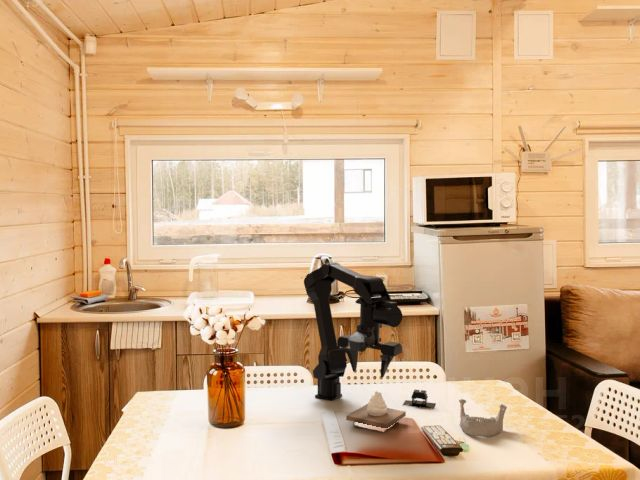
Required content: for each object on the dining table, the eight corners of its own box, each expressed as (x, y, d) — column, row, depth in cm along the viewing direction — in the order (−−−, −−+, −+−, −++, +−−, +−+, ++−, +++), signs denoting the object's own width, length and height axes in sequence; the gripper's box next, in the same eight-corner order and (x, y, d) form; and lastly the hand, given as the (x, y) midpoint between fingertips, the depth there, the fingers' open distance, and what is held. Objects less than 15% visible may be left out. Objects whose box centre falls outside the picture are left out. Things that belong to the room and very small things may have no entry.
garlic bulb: (391, 391, 168) (378, 395, 164) (390, 413, 169) (377, 418, 165) (376, 387, 172) (362, 391, 168) (375, 408, 172) (362, 413, 169)
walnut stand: (346, 426, 167) (346, 415, 167) (367, 414, 177) (367, 403, 177) (386, 435, 160) (386, 424, 160) (405, 422, 170) (405, 411, 170)
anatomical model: (451, 432, 160) (454, 393, 164) (457, 436, 170) (459, 399, 173) (502, 439, 156) (504, 398, 159) (505, 442, 165) (507, 404, 168)
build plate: (441, 404, 188) (441, 390, 188) (438, 412, 181) (438, 396, 181) (401, 400, 192) (401, 386, 191) (396, 407, 185) (397, 392, 184)
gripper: (327, 320, 175) (325, 374, 177) (385, 330, 165) (383, 387, 166) (347, 315, 185) (346, 366, 186) (403, 323, 174) (402, 377, 176)
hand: (368, 374), depth 178 cm, fingers open, 9 cm apart
